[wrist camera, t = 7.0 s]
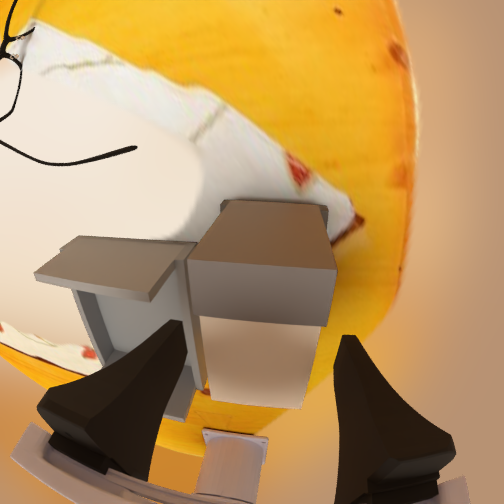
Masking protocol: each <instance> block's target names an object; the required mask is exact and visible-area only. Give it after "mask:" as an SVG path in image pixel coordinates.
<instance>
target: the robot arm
mask: <svg viewBox="0 0 504 504" xmlns="http://www.w3.org/2000/svg"><path fill="white" fill-rule="evenodd" d="M187 354H188V349H187V344H186V339H185V333H184V327H183V321H180V320H173V319H170V320H169V321H167V322H166V323H165V324H164V325H163V326H161V327H160V328H159V329H158V330H157V331H156V332H154V333H153V334H152V335H151V336H150V337H148V338H147V339H146V340H145V341H143V342H142V343H141V344H140V345H138V346H137V347H136V348H134V349H133V350H132V351H130V352H129V353H128V354H126V355H125V356H123V357H122V358H120V359H119V360H117V361H116V362H114V363H112V364H111V365H109V366H107V367H105V368H103V369H101V370H99V371H97V372H95V373H93V374H91V375H89V376H86V377H84V378H81V379H79V380H76V381H73V382H70V383H67V384H63V385H59V386H55V387H51V388H49V389H48V391H47V392H46V394H45V395H44V397H43V398H42V399H41V401H40V402H39V404H38V405H37V411H38V412H39V414H40V415H41V417H42V418H43V419H44V420H45V421H46V422H47V424H48V425H49V426H50V427H51V428H52V429H53V430H54V433H53V434H52V435H51V434H50V433H48V432H47V431H46V430H43V429H42V428H41V427H39V426H38V425H36V424H34V423H33V422H31V423H30V424H29V426H28V427H27V429H26V430H25V432H24V433H23V435H22V437H21V438H20V440H19V442H18V443H17V445H16V447H15V448H14V450H13V452H12V453H11V455H10V457H11V458H12V459H13V460H14V461H15V462H16V463H18V464H19V465H20V466H21V467H23V468H24V469H25V470H27V471H28V472H29V473H30V474H32V475H33V476H34V477H36V478H37V479H39V480H40V481H41V482H43V483H44V484H46V485H47V486H49V487H50V488H52V489H53V490H55V491H56V492H58V493H59V494H61V495H62V496H64V497H66V498H67V499H69V500H71V501H73V502H74V503H76V504H157V503H155V502H152V501H150V500H148V499H151V500H154V501H156V502H160V503H163V504H256V499H257V492H258V486H259V479H260V472H261V465H262V464H265V458H266V452H267V445H268V438H267V437H263V436H253V435H245V434H237V433H230V432H223V431H217V430H211V429H206V428H204V429H203V430H202V433H203V437H204V440H205V443H206V447H207V448H206V451H205V455H204V459H203V462H202V466H201V470H200V473H199V477H198V480H197V484H196V488H195V491H194V493H192V494H191V495H190V494H186V493H182V492H178V491H175V490H171V489H167V488H164V487H161V486H157V485H154V484H151V483H148V482H147V481H148V476H149V470H150V464H151V459H152V455H153V450H154V446H155V442H156V438H157V434H158V431H159V427H160V424H161V421H162V417H163V414H164V411H165V409H166V406H167V404H168V402H169V400H170V397H171V395H172V393H173V391H174V388H175V386H176V384H177V382H178V380H179V377H180V375H181V373H182V370H183V367H184V364H185V361H186V357H187ZM333 369H334V391H335V397H336V406H337V412H338V421H339V435H340V437H339V466H338V478H337V487H336V495H335V502H334V504H470V499H469V493H468V488H467V483H466V478H465V476H461V477H458V478H455V479H452V480H449V481H446V482H443V483H441V484H439V485H437V479H439V478H440V475H439V470H441V469H442V468H443V467H444V466H446V465H447V464H448V463H449V462H451V460H453V459H454V457H455V455H456V450H455V446H454V442H453V439H452V437H451V435H450V434H448V433H447V432H445V431H443V430H442V429H440V428H438V427H437V426H435V425H434V424H432V423H431V422H429V421H428V420H426V419H425V418H424V417H423V416H421V415H420V414H419V413H418V412H416V411H415V410H414V409H413V408H412V407H411V406H409V404H407V403H406V402H405V401H404V400H403V399H402V398H401V397H400V396H399V394H398V393H397V392H396V391H395V390H394V389H393V388H392V387H391V386H390V384H389V383H388V382H387V381H386V379H385V378H384V377H383V375H382V374H381V373H380V371H379V370H378V368H377V367H376V366H375V364H374V363H373V361H372V360H371V359H370V357H369V356H368V354H367V352H366V351H365V349H364V348H363V346H362V344H361V343H360V341H359V339H358V338H357V336H356V335H342V338H341V342H340V345H339V349H338V352H337V356H336V359H335V362H334V365H333ZM138 495H139V496H138ZM140 496H142V497H140ZM143 497H144V498H143ZM145 498H147V499H145Z"/></svg>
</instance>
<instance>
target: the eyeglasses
mask: <svg viewBox="0 0 504 504" xmlns="http://www.w3.org/2000/svg"><path fill="white" fill-rule="evenodd" d="M17 1H18V0H14V2H13V4H12V6H11V9H10V12H9V15H8V18H7V21H6V26H5V31H4V40H3V42H2V44H1V47H0V60H1V59H2V58H8V59H10V60H12V61H14V62H15V63H16V64H17V65H18V66H19V68H20V78H19V84H18V89H17V93H16V97H15V100H14V103H13V106H12V109H11V110H10V111H9V112H8V113H7V114H6V115H4V116H3V117H1V118H0V122H1V121H3V120H4V119H6V118H7V117H8V116H9V115H11V113H12V112H13V111H14V108H15V105H16V102H17V98H18V94H19V91H20V86H21V81H22V72H23V69H22V64H21V63H20V62H19V61H18V60H17V58H18V57H19V55H18V54H16V55H14V54H12V55H14V56H12V55H11V54H9V53H6V46H7V44H8V43H9V42H12V41H15V40H17V41H18V40H20V39H21V40H23V39H25V36H26V35H28V34H30V33H31V32H33V31H34V29H35V27H34V28H33V29H31V30H30V31H28V32H26V33H24V34H22V35H19V36H16V37H9V35H8V30H9V24H10V20H11V16H12V13H13V10H14V8H15V5H16V3H17ZM0 144H2V145H4V146H5V147H8V148H9V149H11V150H13V151H15V152H17V153H19V154H21V155H23V156H25V157H27V158H29V159H31V160H33V161H36V162H38V163H41V164H45V165H51V166H71V165H78V164H83V163H88V162H93V161H97V160H101V159H105V158H109V157H112V156H116V155H120V154H123V153H127V152H130V151H133V150H136V149H137V148H138V146H136V145H134V146H133V145H131V146H128V147H125V148H121V149H118V150H115V151H111V152H108V153H105V154H102V155H99V156H95V157H92V158H88V159H85V160H81V161H76V162H71V163H49V162H44V161H41V160H38V159H36V158H33V157H31V156H29V155H27V154H25V153H23V152H21V151H19V150H17V149H16V148H14V147H12V146H10V145H9V144H7V143H5V142H3V141H1V140H0Z"/></svg>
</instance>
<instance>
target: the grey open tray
mask: <svg viewBox="0 0 504 504" xmlns="http://www.w3.org/2000/svg"><path fill="white" fill-rule="evenodd" d="M196 246H197V243H194V242H179V241H163V240H146V239H130V238H113V237H96V236H77V237H76V238H75V239H73V240H71V241H70V242H69V243H67V244H66V245H65V246H63V247H62V248H60V253H59V254H58V255H56V256H55V257H54V258H52V259H51V260H50V261H48V262H47V263H46V264H44V265H43V266H42V267H40V268H39V269H38V270H37V271H35V272H34V276H35V278H36V281H39V282H43V283H48V284H52V285H56V286H61V287H66V288H70V289H71V290H72V292H73V295H74V299H75V302H76V304H77V307H78V310H79V313H80V315H81V318H82V321H83V323H84V326H85V328H86V331H87V333H88V335H89V338H90V340H91V342H92V345H93V347H94V349H95V351H96V354H97V356H98V358H99V360H100V362H101V364H102V366H103V367H102V369H103V368H105V367H107V366H109V365H111V364H112V363H114V362H116V361H117V360H119V359H120V358H122V357H123V356H125V355H126V354H128V353H129V352H130V351H132V350H133V349H134V348H136V347H137V346H138V345H140V344H141V343H142V342H143V341H145V340H146V339H147V338H148V337H150V336H151V335H152V334H153V333H154V332H156V331H157V330H158V329H159V328H160V327H161V326H163V325H164V324H165V323H166V322H167V321H169V320H170V319H173V320H180V321H183V327H184V333H185V339H186V344H187V349H188V354H187V357H186V361H185V364H184V367H183V370H182V373H181V375H180V377H179V380H178V382H177V384H176V386H175V388H174V391H173V393H172V395H171V397H170V400H169V402H168V404H167V406H166V409H165V411H164V414H163V417H164V418H168V419H172V420H176V421H180V422H185V420H186V418H187V415H188V412H189V409H190V406H191V403H192V400H193V397H194V394H195V391H196V389H197V390H203V389H204V386H205V383H206V380H207V377H208V375H207V368H206V362H205V355H204V348H203V340H202V333H201V325H200V317H199V316H198V315H193V307H192V299H191V291H190V282H189V273H188V264H187V258H188V257H189V256H190V254H191V253H192V251H193V250H194V249H195V247H196Z"/></svg>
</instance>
